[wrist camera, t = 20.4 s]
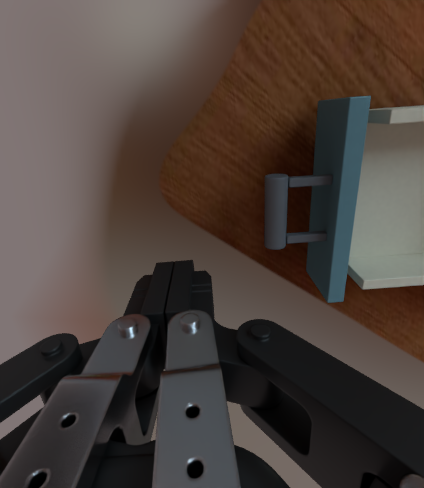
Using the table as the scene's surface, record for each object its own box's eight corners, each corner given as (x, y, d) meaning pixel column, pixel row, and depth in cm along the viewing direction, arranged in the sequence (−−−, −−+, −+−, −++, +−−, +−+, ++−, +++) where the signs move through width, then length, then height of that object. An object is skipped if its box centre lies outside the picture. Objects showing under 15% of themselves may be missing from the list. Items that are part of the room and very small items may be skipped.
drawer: (256, 274, 26) (267, 307, 22) (255, 105, 21) (270, 102, 16) (515, 255, 26) (579, 284, 22) (581, 81, 21) (686, 72, 16)
